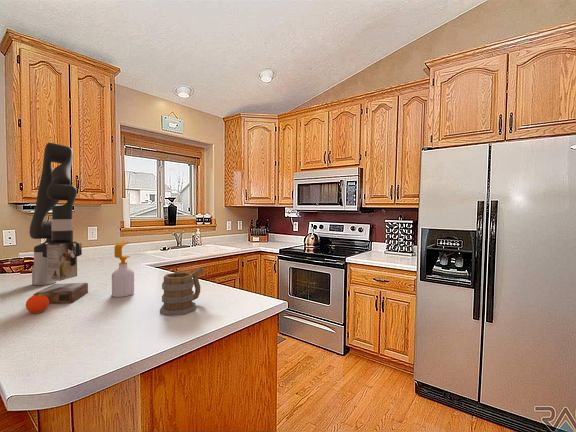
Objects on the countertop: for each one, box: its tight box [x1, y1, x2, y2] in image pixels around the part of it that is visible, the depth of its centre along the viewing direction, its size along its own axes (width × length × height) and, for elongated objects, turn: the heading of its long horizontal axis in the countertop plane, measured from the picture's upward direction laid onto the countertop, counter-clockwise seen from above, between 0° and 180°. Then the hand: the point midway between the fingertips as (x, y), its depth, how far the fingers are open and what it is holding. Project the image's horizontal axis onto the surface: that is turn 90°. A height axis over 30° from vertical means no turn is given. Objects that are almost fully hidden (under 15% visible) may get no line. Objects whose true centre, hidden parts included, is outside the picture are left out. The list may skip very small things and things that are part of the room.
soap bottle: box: [111, 241, 135, 298], centre depth 137 cm, size 9×9×25 cm
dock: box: [32, 282, 89, 305], centre depth 130 cm, size 14×17×5 cm
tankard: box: [159, 267, 205, 317], centre depth 119 cm, size 20×13×15 cm, turn 148°
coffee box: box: [47, 241, 78, 282], centre depth 130 cm, size 9×6×16 cm
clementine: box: [25, 294, 50, 314], centre depth 113 cm, size 8×7×7 cm
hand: (62, 266), depth 130 cm, fingers closed on coffee box, 8 cm apart
